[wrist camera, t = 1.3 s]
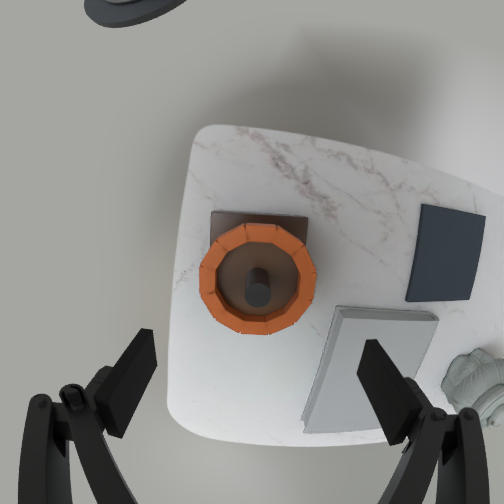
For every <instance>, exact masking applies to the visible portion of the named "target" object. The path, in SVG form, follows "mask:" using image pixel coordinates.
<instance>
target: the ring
mask: <svg viewBox="0 0 504 504" xmlns="http://www.w3.org/2000/svg"><path fill="white" fill-rule="evenodd" d="M247 242H263V243H273V244H274V245H276V246H277V247H279V248H280V249H282V250H284V251H285V252H287V253H288V254H290V255H291V256H292V258H293V260H294V262H295V264H296V266H297V268H298V271H299V273H298V282H297V291H296V292H295V294H294V295H293V296H292V298H291V299H290V300H289V302H288V303H287V304H286V306H285V307H284V308H281V309H279V310H277V311H275V312H273V313H270V314H268V315H266V316H258V315H244V314H243V313H241V312H239V311H238V310H236V309H234V308H232V307H231V306H229V305H227V303H226V302H225V300H224V298H223V297H222V295H221V293H220V291H219V290H218V288H217V268H218V266H219V264H220V263H221V261H222V260H223V258H224V257H225V255H226V254H227V252H229V251H231V250H233V249H235V248H237V247H239V246H241V245H243V244H245V243H247ZM316 276H317V273H316V269H315V266H314V264H313V262H312V260H311V258H310V255H309V253H308V251H307V249H306V247H305V245H304V244H303V243H302V242H301V240H299V239H298V238H296V237H295V236H293V235H292V234H290V233H289V232H287V231H286V230H284V229H283V228H281V227H280V226H278V225H277V227H276V225H275V224H261V223H246V225H245V224H242V225H240V226H238V227H236V228H234V229H232V230H230V231H228V232H226V233H224V234H222V235H220V236H219V237H218V238H216V240H215V241H214V243H213V245H212V246H211V248H210V249H209V251H208V253H207V254H206V256H205V257H204V259H203V261H202V262H201V264H200V267H199V292H200V294H201V298H202V300H203V301H204V303H205V305H206V306H207V308H208V310H209V311H210V313H211V314H212V316H213V318H216V321H218V322H220V323H222V324H223V325H225V326H227V327H228V328H230V329H232V330H234V331H236V332H237V333H239V332H240V331H241V334H255V335H268V333H269V334H273V333H275V332H277V331H280V330H282V329H284V328H286V327H289V326H291V325H293V324H294V322H297V321H298V319H299V318H300V317H301V316H302V314H303V313H304V312H305V311H306V309H307V308H308V307H309V305H310V304H311V303H312V300H313V298H314V291H315V283H316Z"/></svg>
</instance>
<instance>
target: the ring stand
mask: <svg viewBox="0 0 504 504" xmlns="http://www.w3.org/2000/svg"><path fill="white" fill-rule="evenodd" d="M246 223H261V224H275V225H276V227H277V225H278V226H280V227H281V228H283V229H284V230H286V231H287V232H289V233H290V234H292V235H293V236H295V237H296V238H298V239H299V240H301V242H302V243H303V244H304V245H305V247H306V237H307V226H308V217H306V216H297V215H283V214H267V213H250V212H230V211H212V212H211V228H210V248H211V246H212V245H213V243H214V241H215V240H216V238H218V237H219V236H220V235H222V234H224V233H226V232H228V231H230V230H232V229H234V228H236V227H238V226H240V225H242V224H245V225H246ZM298 273H299V271H298V268H297V266H296V264H295V262H294V260H293V258H292V256H291V255H290V254H288V253H287V252H285V251H284V250H282V249H280V248H279V247H277V246H276V245H274V244H273V243H263V242H247V243H245V244H243V245H241V246H239V247H237V248H235V249H233V250H231V251H229V252H227V254H226V255H225V257H224V258H223V260H222V261H221V263H220V264H219V266H218V268H217V288H218V290H219V291H220V293H221V295H222V297H223V298H224V300H225V302H226V303H227V305H229V306H231V307H232V308H234V309H236V310H238V311H239V312H241V313H243V314H244V315H258V316H266V315H268V314H270V313H273V312H275V311H277V310H279V309H281V308H284V307H285V306H286V304H287V303H288V302H289V300H290V299H291V298H292V296H293V295H294V294H295V292H296V291H297V282H298Z"/></svg>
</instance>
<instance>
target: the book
mask: <svg viewBox="0 0 504 504" xmlns="http://www.w3.org/2000/svg"><path fill="white" fill-rule="evenodd" d="M438 322H439V318H438V317H437V316H436V315H434V314H432V313H428V312H425V311H404V310H386V309H370V308H356V307H343V306H336V308H335V312H334V316H333V320H332V323H331V327H330V331H329V334H328V338H327V341H326V345H325V348H324V352H323V355H322V358H321V361H320V365H319V368H318V371H317V374H316V377H315V380H314V383H313V386H312V389H311V392H310V395H309V398H308V401H307V404H306V406H305V409H304V412H303V415H302V417H301V421H304V425H305V429H304V431H303V433H335V432H350V431H361V430H370V429H378V428H382V427H381V425H380V423H379V421H378V418H377V416H376V414H375V412H374V410H373V408H372V406H371V403H370V401H369V399H368V397H367V395H366V393H365V391H364V389H363V387H362V385H361V383H360V381H359V378H358V376H357V374H356V373H357V369H358V366H359V363H360V359H361V356H362V352H363V349H364V345H365V341H366V339H377V340H378V342H379V343H380V344H381V346H382V347H383V348H384V350H385V351H386V353H387V354H388V355H389V357H390V358H391V360H392V361H393V363H394V364H395V365H396V367H397V368H398V370H399V371H400V373H401V374H402V376H403V377H410V378H411V379H413V380H414V378H415V376H416V373H417V371H418V369H419V367H420V365H421V363H422V361H423V358H424V356H425V354H426V352H427V349H428V347H429V345H430V342H431V340H432V337H433V335H434V332H435V330H436V327H437V324H438Z"/></svg>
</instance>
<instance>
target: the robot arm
mask: <svg viewBox="0 0 504 504" xmlns="http://www.w3.org/2000/svg"><path fill="white" fill-rule="evenodd" d="M104 1H106V2H107V3H108V4H111V5H128V4H132V3H136V2H139V1H142V0H104ZM156 367H157V360H156V352H155V345H154V337H153V330H151V329H143V328H141V329H140V331H139V332H138V333H137V335H136V336H135V338H134V339H133V340H132V342H131V343H130V345H129V346H128V347H127V349H126V350H125V351H124V353H123V354H122V356H121V357H120V358H119V360H118V361H117V363H116V364H115V365H114V367H110V366H104V367H103V368H101V369H100V370H99V371H98V372H97V373H96V375H95V377H94V378H93V379H92V380H91V381H90V383H89V384H88V385H87V387H86V388H85V389H83V387H82V386H80V385H78V384H68V385H65V386H64V387H63V388H61V390H60V392H59V396H60V398H61V400H62V403H56V402H52V400H51V398H50V397H49V396H48V395H46V394H37V395H35V396H33V397H32V398H31V400H30V402H29V407H28V412H27V417H26V422H25V428H24V433H23V440H22V448H21V456H20V466H19V481H18V504H73V503H72V494H71V483H70V464H69V441H74V444H75V447H76V450H77V453H78V456H79V459H80V462H81V464H82V467H83V470H84V473H85V475H86V478H87V480H88V483H89V485H90V488H91V490H92V492H93V494H94V497H95V499H96V501H97V503H98V504H138V503H137V501H136V499H135V498H134V496H133V494H132V493H131V491H130V489H129V488H128V486H127V484H126V482H125V480H124V478H123V476H122V474H121V472H120V471H119V469H118V466H117V464H116V463H115V460H114V458H113V456H112V454H111V452H110V450H109V447H108V445H107V443H106V441H105V438H104V436H103V434H102V433H103V431H104V429H105V428H106V430H107V433H108V435H111V436H114V437H117V438H121V439H122V437H123V435H124V433H125V431H126V429H127V427H128V425H129V423H130V420H131V418H132V416H133V414H134V412H135V410H136V408H137V406H138V404H139V402H140V400H141V398H142V395H143V393H144V391H145V389H146V387H147V385H148V383H149V381H150V379H151V377H152V375H153V373H154V371H155V369H156ZM356 374H357V376H358V378H359V381H360V383H361V385H362V387H363V389H364V391H365V393H366V395H367V397H368V399H369V401H370V403H371V406H372V408H373V410H374V412H375V414H376V416H377V418H378V421H379V423H380V425H381V427H382V429H383V432H384V434H385V436H386V438H387V440H388V443H389V445H390V446H392V445H396V444H400V443H403V441H404V440H405V438H406V436H407V437H408V439H409V442H408V444H407V445H406V447H405V448H404V450H403V451H402V453H403V455H402V457H401V460H400V462H399V464H398V466H397V468H396V470H395V472H394V474H393V476H392V478H391V480H390V482H389V484H388V486H387V488H386V490H385V491H384V493H383V495H382V497H381V499H380V500H379V502H378V504H422V502H423V500H424V497H425V495H426V492H427V489H428V487H429V484H430V481H431V478H432V476H433V472H434V470H435V466H436V463H437V460H438V480H437V481H438V482H437V494H436V504H490V499H489V479H488V468H487V459H486V452H485V445H484V439H483V434H482V428H481V423H480V418H479V415H478V412H477V411H476V410H475V409H473V408H470V407H464V408H462V409H461V410H460V412H459V414H456V415H447V413H446V412H445V411H444V410H443V409H441V408H436V407H433V406H432V404H431V403H430V401H429V400H428V398H427V397H426V396H425V394H424V393H423V391H422V390H421V389H420V388H419V386H418V384H417V383H416V381H414V380H413V379H411V378H410V377H403V376H402V374H401V373H400V371H399V370H398V368H397V367H396V365H395V364H394V363H393V361H392V360H391V358H390V357H389V355H388V354H387V353H386V351H385V350H384V348H383V347H382V346H381V344H380V343H379V342H378V340H377V339H366V341H365V345H364V349H363V352H362V356H361V359H360V363H359V366H358V369H357V373H356Z"/></svg>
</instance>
